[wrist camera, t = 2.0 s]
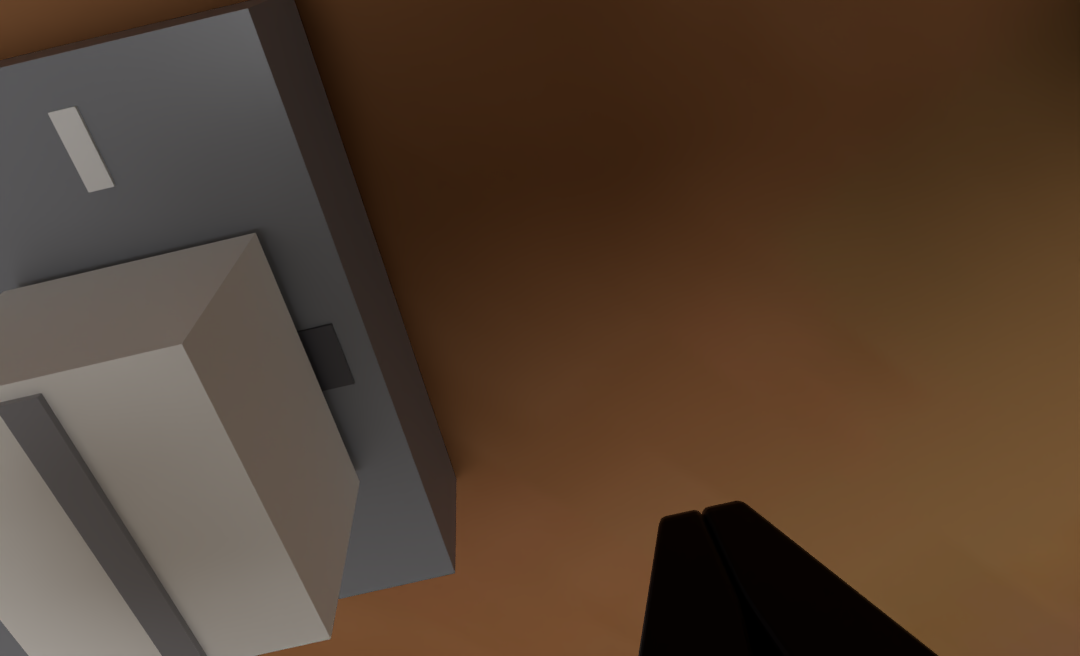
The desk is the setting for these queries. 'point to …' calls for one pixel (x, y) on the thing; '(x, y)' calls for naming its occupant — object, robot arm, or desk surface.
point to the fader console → (233, 231)
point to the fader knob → (167, 463)
